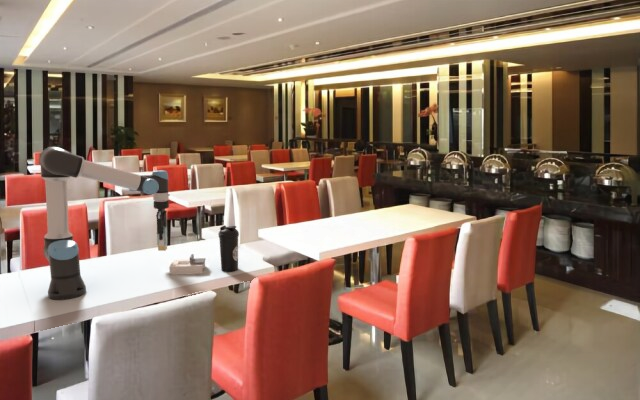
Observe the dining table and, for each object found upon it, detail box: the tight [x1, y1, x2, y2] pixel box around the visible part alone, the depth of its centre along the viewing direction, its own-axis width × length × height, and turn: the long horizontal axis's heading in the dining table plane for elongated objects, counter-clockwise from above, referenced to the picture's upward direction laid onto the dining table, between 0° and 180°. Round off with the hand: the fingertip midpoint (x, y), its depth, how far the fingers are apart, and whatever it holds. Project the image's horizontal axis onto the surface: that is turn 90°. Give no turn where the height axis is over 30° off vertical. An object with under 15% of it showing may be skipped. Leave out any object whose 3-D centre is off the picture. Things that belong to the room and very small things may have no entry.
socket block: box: [168, 258, 206, 275], centre depth 251 cm, size 16×12×4 cm
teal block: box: [156, 225, 168, 252], centre depth 254 cm, size 4×4×12 cm
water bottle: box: [218, 225, 240, 273], centre depth 251 cm, size 10×10×23 cm
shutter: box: [189, 253, 206, 264], centre depth 251 cm, size 7×7×3 cm
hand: (162, 244), depth 254 cm, fingers closed on teal block, 4 cm apart
